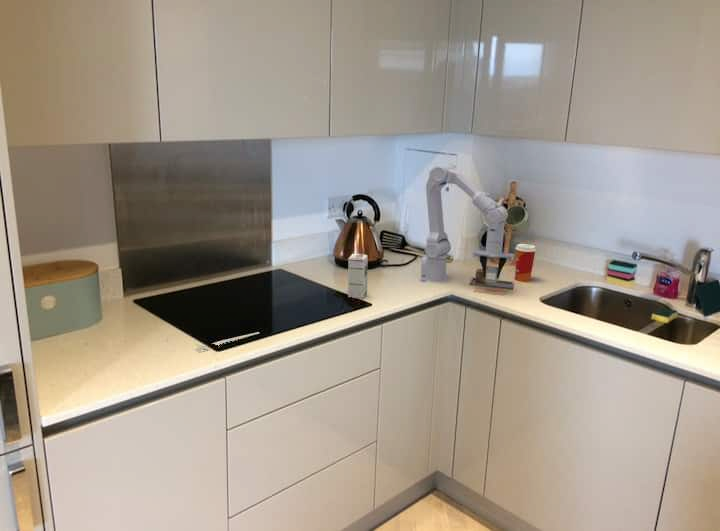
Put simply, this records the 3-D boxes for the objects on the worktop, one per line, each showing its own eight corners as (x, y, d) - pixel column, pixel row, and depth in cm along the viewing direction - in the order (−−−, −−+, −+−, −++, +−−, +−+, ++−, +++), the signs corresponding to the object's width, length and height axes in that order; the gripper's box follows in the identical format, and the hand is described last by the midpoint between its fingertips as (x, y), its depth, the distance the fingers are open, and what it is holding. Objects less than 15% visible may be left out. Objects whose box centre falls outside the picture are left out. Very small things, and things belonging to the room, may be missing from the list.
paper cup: (516, 276, 236) (519, 242, 232) (535, 280, 231) (539, 245, 228) (509, 281, 229) (512, 246, 225) (528, 285, 225) (532, 249, 221)
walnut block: (474, 284, 223) (476, 271, 222) (475, 281, 227) (477, 268, 225) (485, 285, 222) (486, 272, 221) (486, 282, 226) (487, 269, 224)
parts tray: (469, 286, 222) (469, 282, 222) (471, 280, 229) (471, 277, 229) (512, 290, 218) (512, 287, 218) (513, 284, 225) (513, 281, 225)
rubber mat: (473, 292, 214) (473, 291, 214) (475, 287, 221) (475, 285, 221) (504, 296, 211) (505, 294, 211) (505, 290, 218) (505, 289, 218)
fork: (262, 336, 173) (262, 330, 172) (200, 353, 159) (200, 347, 159) (256, 333, 175) (256, 327, 174) (194, 349, 161) (194, 343, 161)
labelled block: (484, 282, 214) (486, 268, 212) (485, 279, 217) (487, 265, 216) (496, 283, 212) (497, 269, 211) (497, 280, 216) (498, 266, 215)
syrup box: (364, 299, 204) (365, 258, 200) (347, 297, 205) (348, 257, 201) (367, 294, 210) (368, 254, 206) (350, 292, 211) (351, 253, 207)
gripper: (472, 241, 209) (469, 278, 213) (515, 245, 205) (511, 282, 209) (474, 237, 215) (471, 272, 219) (516, 240, 212) (512, 277, 215)
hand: (491, 277), depth 215 cm, fingers closed on labelled block, 4 cm apart
